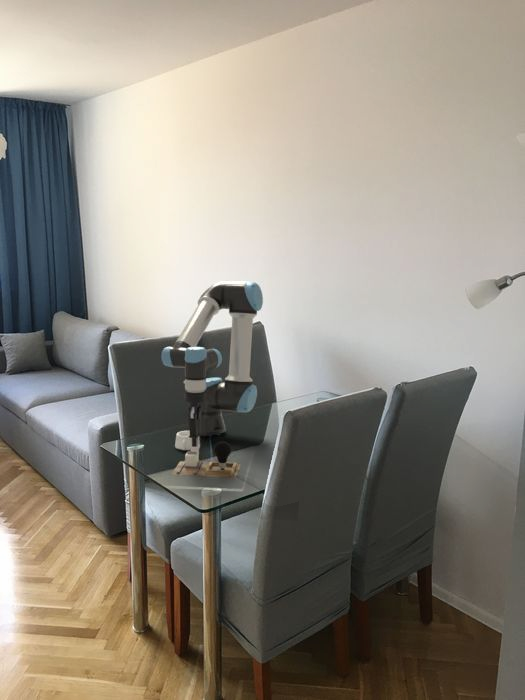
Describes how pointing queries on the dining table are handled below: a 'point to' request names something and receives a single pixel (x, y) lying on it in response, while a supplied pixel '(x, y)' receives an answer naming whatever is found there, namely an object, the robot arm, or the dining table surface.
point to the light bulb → (222, 453)
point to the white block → (192, 459)
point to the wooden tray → (208, 469)
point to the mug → (183, 440)
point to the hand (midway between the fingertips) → (194, 454)
